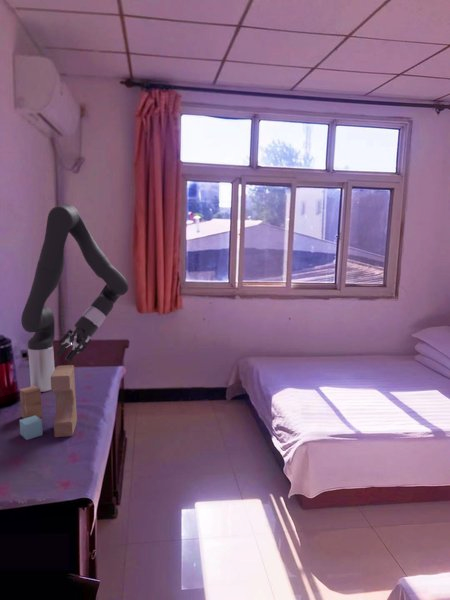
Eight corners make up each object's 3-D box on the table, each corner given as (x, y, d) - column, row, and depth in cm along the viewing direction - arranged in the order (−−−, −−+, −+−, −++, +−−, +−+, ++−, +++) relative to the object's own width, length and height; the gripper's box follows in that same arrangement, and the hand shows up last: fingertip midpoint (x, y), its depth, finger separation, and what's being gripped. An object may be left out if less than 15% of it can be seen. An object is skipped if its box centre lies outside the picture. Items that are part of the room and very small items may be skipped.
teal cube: (20, 434, 140) (19, 419, 139) (36, 429, 144) (35, 415, 143) (26, 440, 137) (25, 425, 136) (42, 435, 140) (41, 420, 139)
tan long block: (21, 416, 153) (19, 389, 151) (36, 412, 156) (34, 385, 155) (27, 421, 149) (25, 393, 148) (42, 417, 153) (40, 389, 151)
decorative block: (72, 436, 139) (69, 375, 136) (53, 438, 138) (49, 376, 135) (77, 421, 150) (74, 364, 146) (60, 422, 149) (56, 365, 145)
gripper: (74, 312, 166) (46, 347, 160) (92, 318, 156) (62, 356, 150) (88, 324, 171) (61, 359, 165) (107, 330, 160) (78, 367, 155)
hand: (62, 357), depth 157 cm, fingers open, 8 cm apart
